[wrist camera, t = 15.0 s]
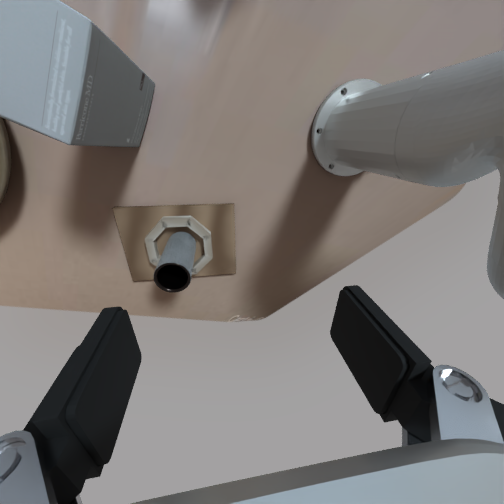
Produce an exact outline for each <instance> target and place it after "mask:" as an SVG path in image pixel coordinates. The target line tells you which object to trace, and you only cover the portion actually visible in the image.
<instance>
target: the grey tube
mask: <svg viewBox="0 0 504 504" xmlns="http://www.w3.org/2000/svg"><path fill="white" fill-rule="evenodd" d="M195 251H196V241H195V239H194V237H193V236H192V235H190V234H189V233H186V232H176V233H174V234H172V235H171V236H170V238H169V240H168V242H167V244H166V246H165V249H164V251H163V253H162V255H161V258H160V260H159V262H158V265H157V267H156V269H155V272H154V276H153V277H154V281H155V283H156V285H157V286H158V287H159V288H160V289H162V290H164V291H167V292H179V291H182V290H184V289H185V288H187V287H188V285H189V284H190V281H191V276H192V270H193V263H194V257H195Z"/></svg>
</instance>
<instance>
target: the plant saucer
mask: <svg viewBox="0 0 504 504" xmlns="http://www.w3.org/2000/svg"><path fill="white" fill-rule="evenodd" d="M10 172H11V150H10V143H9V138H8V134H7V130H6V127H5V124H4V121H3V118H2V117H0V203H1V202H2V200H3V198H4V196H5V193H6V191H7V188H8V183H9V179H10Z"/></svg>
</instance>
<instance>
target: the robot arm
mask: <svg viewBox="0 0 504 504" xmlns="http://www.w3.org/2000/svg"><path fill="white" fill-rule="evenodd" d="M341 91H342V94H341ZM317 129H318V133H317ZM312 148H313V152H314V155H315V158H316V159H317V161H318V163H319V164H320V165H321V166H322V167H323V168H324V169H325V170H326V171H328V172H330V173H332V174H335V175H339V176H351V175H356V174H358V173H361V172H363V171H368V172H372V173H376V174H380V175H384V176H389V177H393V178H397V179H401V180H405V181H410V182H414V183H419V184H423V185H428V186H435V187H448V186H455V185H460V184H463V183H467V182H470V181H472V180H475V179H478V178H480V177H482V176H484V175H486V174H488V173H490V172H492V171H494V170H496V169H498V170H499V172H500V187H499V194H498V206H497V211H496V216H495V221H494V226H493V231H492V236H491V241H490V246H489V252H488V260H487V272H488V277H489V280H490V283H491V284H492V286H493V288H494V289H495V291H496V292H497V293H498V294H499V295H500V296H501V297H502V298H503V299H504V50H501V51H498V52H495V53H491V54H488V55H485V56H482V57H479V58H475V59H472V60H468V61H465V62H462V63H458V64H455V65H452V66H448V67H445V68H441V69H438V70H434V71H431V72H427V73H424V74H420V75H417V76H413V77H410V78H407V79H403V80H400V81H396V82H393V83H389V84H386V85H381V84H379V83H377V82H375V81H373V80H369V79H356V80H353V81H350V82H347V83H345V84H343V85H341V86H339V87H338V88H336V89H335V90H333V91H332V92H331V93H330V94H329V95H328V96H327V97H326V99H325V100H324V102H323V103H322V104H321V106H320V108H319V110H318V112H317V114H316V116H315V120H314V123H313V127H312ZM329 165H330V167H329ZM330 334H331V338H332V340H333V342H334V343H335V345H336V347H337V348H338V350H339V352H340V354H341V355H342V357H343V359H344V360H345V362H346V364H347V365H348V367H349V369H350V371H351V372H352V374H353V376H354V377H355V379H356V381H357V383H358V384H359V386H360V387H361V389H362V391H363V393H364V394H365V396H366V398H367V400H368V401H369V403H370V405H371V407H372V408H373V410H374V411H375V412H376V413H378V414H380V416H381V418H382V419H383V421H384V422H388V421H394V420H398V421H399V423H400V424H401V426H402V447H397V448H392V449H387V450H382V451H377V452H372V453H367V454H363V455H357V456H353V457H348V458H343V459H338V460H333V461H328V462H323V463H318V464H314V465H309V466H304V467H299V468H295V469H290V470H285V471H280V472H275V473H271V474H266V475H261V476H257V477H252V478H247V479H242V480H237V481H233V482H228V483H223V484H219V485H214V486H209V487H205V488H200V489H195V490H191V491H186V492H182V493H177V494H173V495H168V496H163V497H158V498H154V499H149V500H144V501H140V502H136V503H132V504H504V404H501V403H499V402H497V401H495V400H493V399H490V398H489V397H488V394H487V392H486V390H485V389H484V388H483V387H482V386H481V384H480V383H479V382H478V381H476V380H475V379H474V378H473V377H471V376H470V375H469V374H467V373H466V372H464V371H462V370H460V369H458V368H455V367H451V366H449V365H439V366H436V367H435V368H434V367H433V366H432V365H431V364H430V363H431V360H430V359H429V358H428V357H427V356H426V355H425V354H424V353H423V352H422V351H421V350H420V349H419V348H418V347H417V346H416V345H415V344H414V343H413V341H412V340H410V338H409V337H408V336H407V335H406V334H405V333H404V332H403V331H402V330H401V329H400V328H399V327H398V326H397V325H396V324H395V323H394V322H393V321H392V320H391V319H390V318H389V317H388V316H387V315H386V314H385V313H384V312H383V310H381V309H380V307H379V306H378V305H377V304H376V303H375V302H374V301H373V300H372V299H371V298H370V297H369V296H368V295H367V294H366V293H365V292H364V291H363V290H362V289H361V288H360V287H359V286H357V285H356V286H346V287H344V288H343V290H341V291H340V294H339V298H338V302H337V306H336V310H335V314H334V318H333V322H332V327H331V330H330ZM140 363H141V352H140V349H139V346H138V343H137V340H136V336H135V333H134V330H133V327H132V324H131V321H130V318H129V315H128V312H127V310H123V309H122V308H121V307H111V308H104V309H103V310H102V311H101V313H100V315H99V317H98V318H97V319H96V321H95V323H94V324H93V326H92V327H91V329H90V331H89V332H88V334H87V335H86V337H85V339H84V340H83V342H82V343H81V345H80V346H78V347H77V348H76V349H75V351H74V352H73V353H72V355H71V357H70V358H69V360H68V361H67V363H66V364H65V366H64V367H63V369H62V370H61V372H60V374H59V375H58V377H57V378H56V380H55V381H54V383H53V385H52V386H51V388H50V389H49V391H48V393H47V394H46V396H45V397H44V399H43V400H42V402H41V403H40V405H39V406H38V408H37V410H36V411H35V413H34V414H33V416H32V418H31V419H30V421H29V422H28V424H27V425H26V427H25V428H24V430H22V431H14V432H11V433H8V434H5V435H3V436H1V437H0V504H82V501H81V498H80V495H79V494H80V493H81V491H82V488H83V485H84V483H85V480H86V479H89V478H94V477H99V476H100V475H101V472H102V469H103V466H104V464H107V463H108V462H109V460H110V458H111V456H112V453H113V449H114V446H115V443H116V440H117V437H118V434H119V430H120V427H121V424H122V421H123V418H124V414H125V411H126V408H127V405H128V402H129V399H130V395H131V392H132V389H133V386H134V383H135V379H136V376H137V373H138V370H139V367H140Z"/></svg>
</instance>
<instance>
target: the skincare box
mask: <svg viewBox="0 0 504 504" xmlns="http://www.w3.org/2000/svg"><path fill="white" fill-rule="evenodd" d="M154 87H155V83H154V82H153V81H152V80H151V79H150V78H149V77H148V76H147V75H146V74H145V73H144V72H143V71H142V70H141V69H140V68H139V67H138V66H137V65H136V64H135V63H134V62H133V61H132V60H131V59H130V58H129V57H128V56H127V55H126V54H125V53H124V52H123V51H122V50H121V49H120V48H119V47H118V46H117V45H116V44H115V43H114V42H113V41H112V40H110V39H109V38H108V37H107V36H106V35H105V34H104V33H103V32H102V31H101V30H100V29H99V28H98V27H97V26H96V25H95V24H94V23H93V22H92V21H91V20H90V19H88V18H87V17H85V16H84V15H82V14H80V13H79V12H77V11H76V10H74V9H72V8H71V7H69V6H68V5H66V4H64V3H63V2H61V1H59V0H0V117H2V118H4V119H7V120H9V121H12V122H14V123H17V124H19V125H21V126H24V127H26V128H29V129H31V130H34V131H36V132H39V133H41V134H43V135H46V136H48V137H51V138H53V139H56V140H58V141H61V142H63V143H65V144H68V145H82V146H114V147H139V146H140V142H141V139H142V135H143V132H144V129H145V125H146V122H147V118H148V114H149V110H150V106H151V102H152V97H153V92H154Z"/></svg>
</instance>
